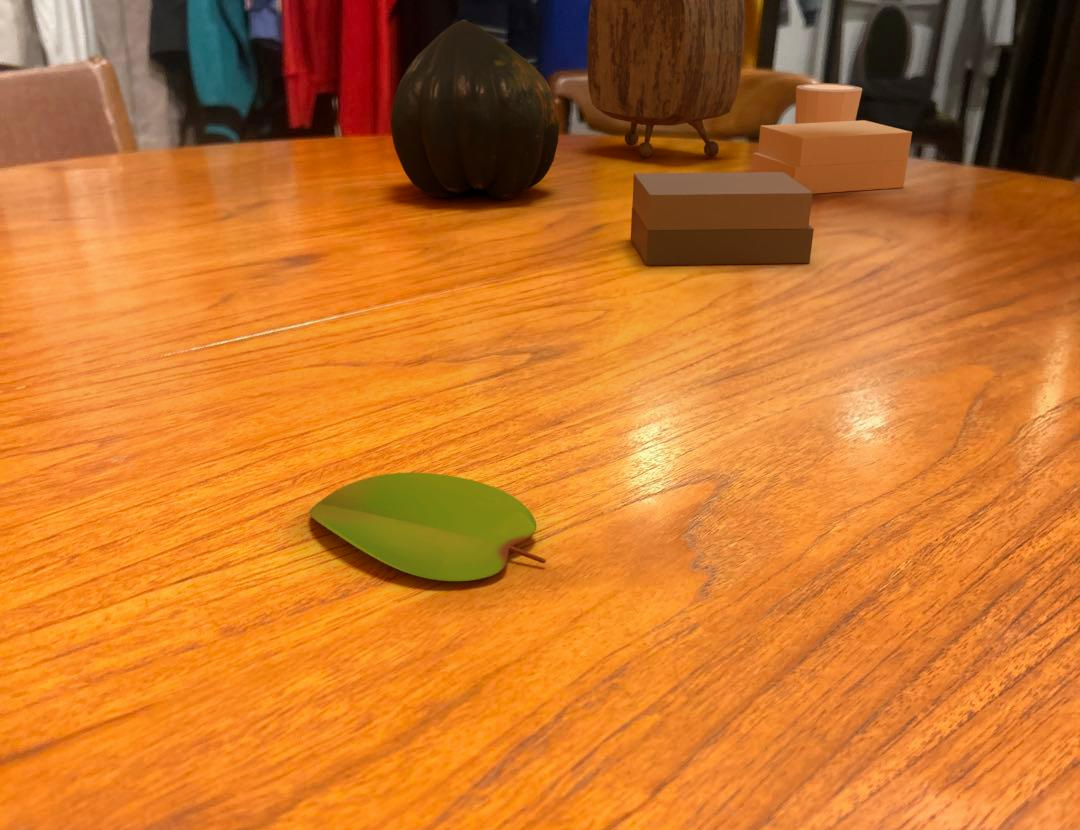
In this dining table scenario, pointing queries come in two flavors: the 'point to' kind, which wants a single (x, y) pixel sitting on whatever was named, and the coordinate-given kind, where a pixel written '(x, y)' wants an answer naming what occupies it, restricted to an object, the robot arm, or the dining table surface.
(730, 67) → the tabletop clock
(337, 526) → the decorative leaf
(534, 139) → the squash
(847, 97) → the tapered cup
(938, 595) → the dining table surface
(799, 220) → the brown box
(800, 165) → the orange lidded box
